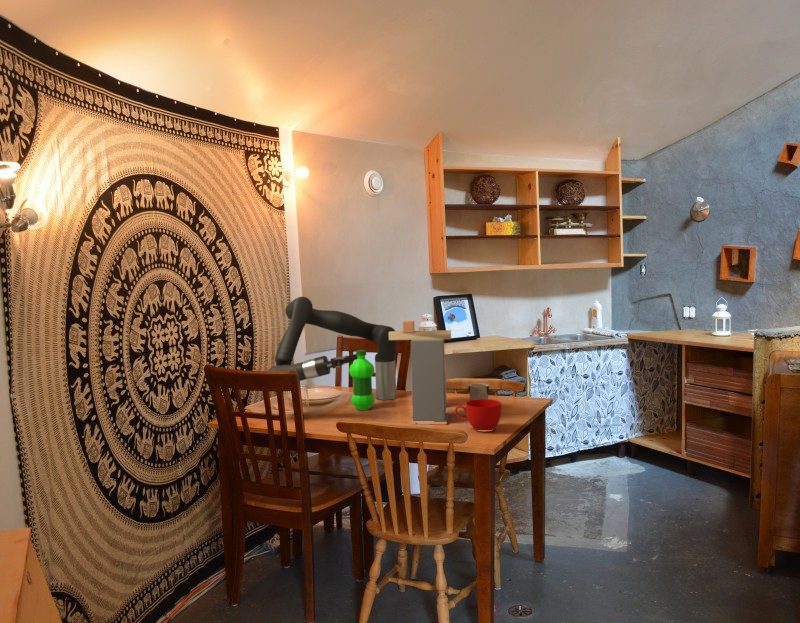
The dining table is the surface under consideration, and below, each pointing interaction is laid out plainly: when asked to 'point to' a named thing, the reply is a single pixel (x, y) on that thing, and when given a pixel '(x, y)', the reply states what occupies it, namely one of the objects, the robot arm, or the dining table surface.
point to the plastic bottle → (362, 382)
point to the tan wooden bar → (419, 335)
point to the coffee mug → (479, 383)
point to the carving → (478, 392)
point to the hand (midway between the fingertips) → (355, 357)
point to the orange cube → (408, 326)
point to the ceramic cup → (482, 413)
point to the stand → (428, 380)
